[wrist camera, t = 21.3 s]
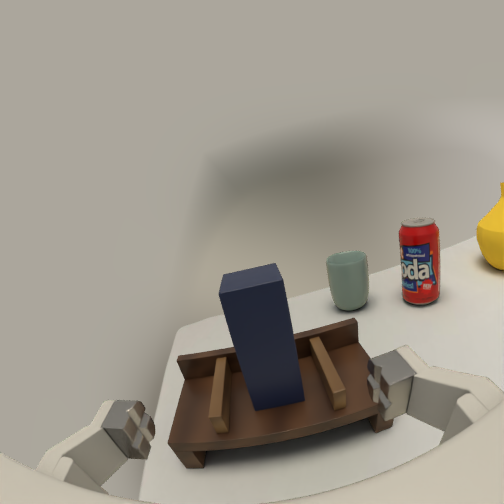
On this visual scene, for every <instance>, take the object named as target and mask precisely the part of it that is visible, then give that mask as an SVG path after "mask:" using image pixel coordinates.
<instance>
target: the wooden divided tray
mask: <svg viewBox="0 0 504 504" xmlns="http://www.w3.org/2000/svg"><path fill="white" fill-rule="evenodd" d="M294 339H295V344H296V350H297V356H298V361H299V367H300V373H301V378H302V384H303V390H304V396H305V401H302V402H298V403H294V404H289V405H285V406H280V407H275V408H270V409H264V410H259V411H255V410H254V407H253V404H252V401H251V398H250V395H249V392H248V389H247V386H246V383H245V380H244V377H243V374H242V370H241V367H240V364H239V361H238V358H237V355H236V351H235V348H234V347H231V348H225V349H219V350H213V351H207V352H201V353H194V354H187V355H180V356H178V359H177V363H178V365H179V367H180V370H181V372H182V374H183V376H184V379H185V381H184V384H183V388H182V391H181V395H180V399H179V402H178V406H177V410H176V413H175V417H174V421H173V424H172V428H171V432H170V436H169V440H168V445H169V446H170V447H171V449H172V450H173V451H174V453H175V454H176V455H177V457H178V458H179V459H180V461H181V462H182V463H183V465H184V466H185V467H186V468H204V462H205V453H206V451H208V450H222V449H232V448H241V447H249V446H256V445H263V444H269V443H275V442H280V441H285V440H290V439H295V438H299V437H303V436H308V435H312V434H316V433H319V432H323V431H327V430H330V429H334V428H337V427H340V426H343V425H347V424H350V423H353V422H356V421H359V420H362V419H364V418H368V420H369V422H370V424H371V425H372V427H373V429H374V431H375V433H377V432H380V431H382V430H385V429H387V428H390V427H392V425H393V419H394V418H393V419H390V420H388V421H384V419H383V418H382V416H381V414H380V412H379V411H378V403H376V402H374V401H373V400H372V399H371V397H370V394H369V392H368V387H367V377H368V376H369V374H370V372H369V371H368V369H367V363H368V360H369V359H371V358H370V357H369V356H368V354H367V353H366V352H365V350H364V349H363V348H362V346H361V345H360V343H359V340H358V322H357V321H356V319H355V318H351V319H348V320H344V321H341V322H338V323H334V324H330V325H327V326H323V327H320V328H316V329H312V330H308V331H304V332H300V333H296V334H294Z"/></svg>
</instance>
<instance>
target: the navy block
mask: <svg viewBox="0 0 504 504" xmlns="http://www.w3.org/2000/svg"><path fill="white" fill-rule="evenodd" d="M219 297H220V301H221V304H222V308H223V311H224V315H225V318H226V322H227V325H228V328H229V332H230V335H231V338H232V342H233V345H234V348H235V351H236V355H237V358H238V361H239V364H240V367H241V370H242V374H243V377H244V380H245V383H246V386H247V389H248V392H249V395H250V398H251V401H252V404H253V407H254V410H255V411H259V410H264V409H270V408H275V407H280V406H285V405H289V404H294V403H298V402H302V401H305V396H304V390H303V384H302V378H301V373H300V367H299V361H298V356H297V350H296V344H295V339H294V334H293V328H292V323H291V318H290V312H289V307H288V302H287V297H286V292H285V287H284V282H283V278H282V276H281V274H280V272H279V270H278V268H277V265H276V263H273V264H269V265H265V266H260V267H255V268H251V269H246V270H242V271H237V272H233V273H229V274H224V275H223V278H222V282H221V286H220V290H219Z"/></svg>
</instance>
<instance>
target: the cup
mask: <svg viewBox="0 0 504 504" xmlns="http://www.w3.org/2000/svg"><path fill="white" fill-rule="evenodd" d="M326 265H327V273H328V280H329V286H330V291H331V295H332V298H333V301H334V303H335V305H336V306H337V307H338V308H340V309H342V310H355V309H358V308H361V307H362V306H363V305H364V304H365V303H366V301H367V298H368V294H369V275H368V264H367V257H366V254H365V253H364V252H361V251H346V252H341V253H336V254H334V255H331V256H329V257H328V258H327V260H326Z"/></svg>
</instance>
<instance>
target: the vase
mask: <svg viewBox="0 0 504 504" xmlns="http://www.w3.org/2000/svg"><path fill="white" fill-rule="evenodd" d="M477 241H478V243H479V246H480V249H481V252H482V254H483V255H484V257H485V259H486V260H487V261H488V262H489V263H490V264H491V265H492V266H493V267H494V268H496V269H499V270H503V271H504V183H501V198H500V200H499V202H498V203H497V204H496V205H495V206H494V208H492V209H491V211H490V212H489V213H488V214H487V215H486V216H485V217H484V218H483V219H482V220H480V221H479V223H478V226H477Z"/></svg>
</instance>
